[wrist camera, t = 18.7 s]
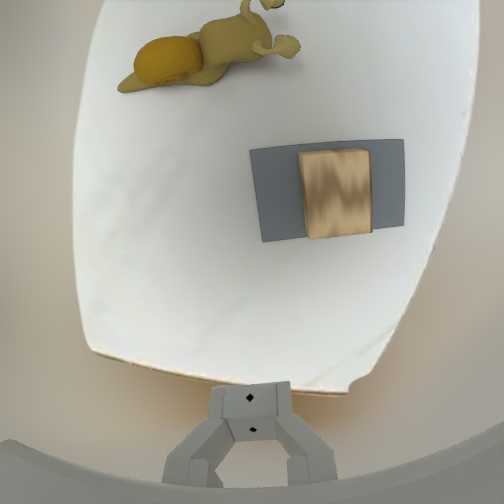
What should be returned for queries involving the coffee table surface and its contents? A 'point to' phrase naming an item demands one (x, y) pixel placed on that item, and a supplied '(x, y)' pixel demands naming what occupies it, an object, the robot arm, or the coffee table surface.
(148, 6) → the coffee table surface
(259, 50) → the toy
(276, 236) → the mat
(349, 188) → the slab
